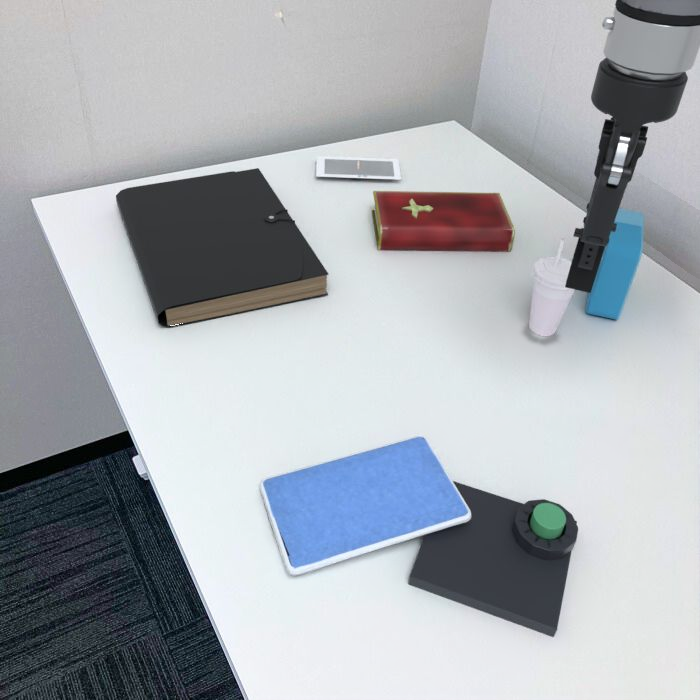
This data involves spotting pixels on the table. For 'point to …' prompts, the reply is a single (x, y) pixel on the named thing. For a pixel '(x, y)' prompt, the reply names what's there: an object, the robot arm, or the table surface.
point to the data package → (617, 266)
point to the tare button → (547, 521)
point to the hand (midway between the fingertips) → (578, 286)
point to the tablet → (360, 504)
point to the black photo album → (217, 247)
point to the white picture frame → (357, 167)
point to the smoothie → (549, 293)
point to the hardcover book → (441, 221)
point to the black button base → (498, 562)
